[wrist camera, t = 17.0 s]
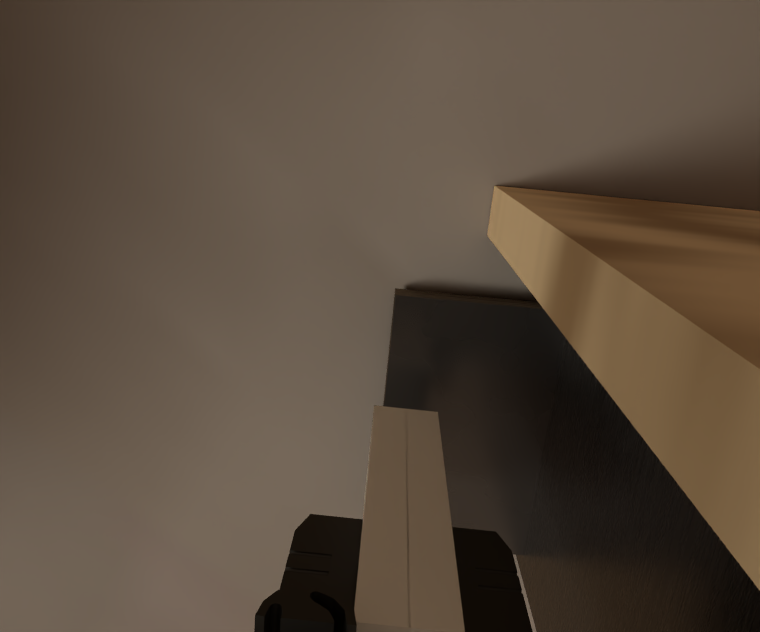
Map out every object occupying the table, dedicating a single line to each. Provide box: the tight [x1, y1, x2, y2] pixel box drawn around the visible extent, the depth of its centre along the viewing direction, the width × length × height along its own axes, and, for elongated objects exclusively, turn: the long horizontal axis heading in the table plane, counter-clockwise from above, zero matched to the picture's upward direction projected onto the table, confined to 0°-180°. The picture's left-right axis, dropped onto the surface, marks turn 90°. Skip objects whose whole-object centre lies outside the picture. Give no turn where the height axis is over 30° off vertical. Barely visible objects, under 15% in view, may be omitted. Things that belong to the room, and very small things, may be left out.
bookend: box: [383, 288, 760, 632], centre depth 12 cm, size 5×8×10 cm, turn 175°
